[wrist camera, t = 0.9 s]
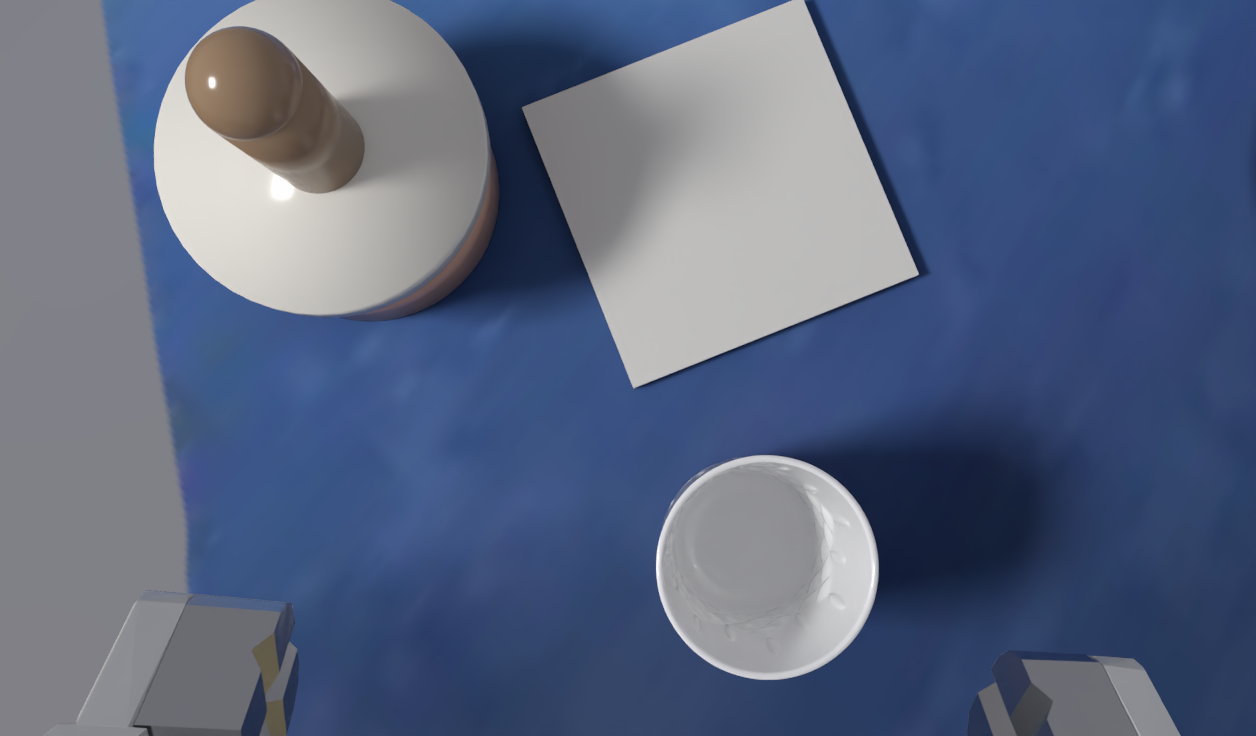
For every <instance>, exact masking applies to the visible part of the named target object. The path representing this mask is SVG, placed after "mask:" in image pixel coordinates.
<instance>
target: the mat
mask: <svg viewBox="0 0 1256 736" xmlns="http://www.w3.org/2000/svg"><path fill="white" fill-rule="evenodd" d="M522 110H523V112H524V115H525V117H526V120H527V122H528V125H529V127H530V130H531V132H532V135H533V137H534V140H535V142H536V145H537V147H538V150H539V152H540V155H541V157H542V160H543V162H544V165H545V167H546V170H547V172H548V175H549V177H550V180H551V182H552V185H553V188H554V190H555V193H556V195H557V198H558V200H559V203H560V205H561V208H562V210H563V213H564V215H565V218H566V220H567V223H568V225H569V228H570V230H571V233H572V235H573V238H574V240H575V243H576V245H577V248H578V250H579V253H580V255H581V258H582V260H583V263H584V265H585V268H586V270H587V273H588V275H589V278H590V280H591V283H592V285H593V288H594V290H595V293H596V295H597V298H598V300H599V303H600V306H601V308H602V311H603V313H604V316H605V318H606V321H607V323H608V326H609V328H610V331H611V333H612V336H613V338H614V341H615V343H616V346H617V348H618V351H619V353H620V356H621V358H622V361H623V363H624V366H625V368H626V371H627V373H628V376H629V378H630V381H631V383H632V386H633V388H637V387H639V386H642V385H644V384H647V383H649V382H652V381H654V380H657V379H659V378H662V377H664V376H667V375H669V374H672V373H674V372H677V371H679V370H682V369H684V368H687V367H689V366H692V365H694V364H697V363H699V362H702V361H704V360H707V359H709V358H712V357H714V356H717V355H719V354H722V353H724V352H727V351H729V350H732V349H734V348H737V347H740V346H742V345H745V344H747V343H750V342H752V341H755V340H757V339H760V338H762V337H765V336H767V335H770V334H772V333H775V332H777V331H780V330H782V329H785V328H787V327H790V326H792V325H795V324H797V323H800V322H802V321H805V320H807V319H810V318H812V317H815V316H817V315H820V314H822V313H825V312H827V311H830V310H832V309H835V308H837V307H840V306H843V305H845V304H848V303H850V302H853V301H855V300H858V299H860V298H863V297H865V296H868V295H870V294H873V293H875V292H878V291H880V290H883V289H885V288H888V287H890V286H893V285H895V284H898V283H900V282H903V281H905V280H908V279H910V278H913V277H915V276H917V275H919V273H918V271H917V268H916V266H915V264H914V261H913V259H912V257H911V254H910V252H909V249H908V247H907V245H906V242H905V240H904V238H903V235H902V233H901V230H900V228H899V226H898V223H897V221H896V219H895V216H894V214H893V211H892V209H891V207H890V204H889V202H888V199H887V197H886V195H885V192H884V190H883V188H882V185H881V183H880V180H879V178H878V176H877V173H876V171H875V169H874V166H873V164H872V161H871V159H870V157H869V154H868V152H867V150H866V147H865V145H864V142H863V140H862V138H861V135H860V133H859V131H858V128H857V126H856V123H855V121H854V119H853V116H852V114H851V111H850V109H849V107H848V104H847V102H846V100H845V97H844V95H843V92H842V90H841V88H840V85H839V83H838V81H837V78H836V76H835V73H834V71H833V69H832V66H831V64H830V62H829V59H828V57H827V54H826V52H825V50H824V47H823V45H822V43H821V40H820V38H819V35H818V33H817V31H816V28H815V26H814V24H813V21H812V19H811V16H810V14H809V12H808V9H807V7H806V4H805V2H804V0H792V1H790V2H787V3H785V4H782V5H780V6H777V7H775V8H772V9H769V10H767V11H764V12H762V13H759V14H757V15H754V16H752V17H749V18H747V19H744V20H742V21H739V22H737V23H734V24H731V25H729V26H726V27H724V28H721V29H719V30H716V31H714V32H711V33H709V34H706V35H704V36H701V37H699V38H696V39H693V40H691V41H688V42H686V43H683V44H681V45H678V46H676V47H673V48H671V49H668V50H666V51H663V52H661V53H658V54H655V55H653V56H650V57H648V58H645V59H643V60H640V61H638V62H635V63H633V64H630V65H628V66H625V67H623V68H620V69H617V70H615V71H612V72H610V73H607V74H605V75H602V76H600V77H597V78H595V79H592V80H590V81H587V82H585V83H582V84H579V85H577V86H574V87H572V88H569V89H567V90H564V91H562V92H559V93H557V94H554V95H552V96H549V97H547V98H544V99H541V100H539V101H536V102H534V103H531V104H529V105H526V106H524V107H522Z"/></svg>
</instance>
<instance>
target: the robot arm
mask: <svg viewBox="0 0 1256 736" xmlns="http://www.w3.org/2000/svg"><path fill="white" fill-rule="evenodd" d="M294 623H295V622H294V615H293V609H292V603H286V602H275V601H265V600H254V599H244V598H233V597H222V596H212V595H201V594H189V593H176V592H162V591H151V590H146V591H145V592H144V593H143V595H142V596H141V597H140V598H139V599H138V600H137V601H136V602H135V603H134V605H133V607H132V609H131V611H130V613H129V615H128V617H127V619H126V621H125V623H124V625H123V627H122V629H121V631H120V633H119V635H118V637H117V639H116V641H115V643H114V645H113V647H112V649H111V651H110V653H109V656H108V657H107V660H106V662H105V664H104V666H103V668H102V669H101V672H100V674H99V676H98V678H97V680H96V682H95V684H94V686H93V688H92V690H91V692H90V694H89V696H88V698H87V700H86V702H85V704H84V706H83V708H82V710H81V712H80V714H79V716H78V718H77V720H76V722H75V724H74V723H59V724H58V725H57V726H55V727H54V728H53V729H51V730H50V731H48V732H47V733H46V734H45V735H43V736H285V735H286V734H287V731H288V727H289V723H290V720H291V716H292V713H293V708H294V702H295V697H296V691H297V685H298V667H299V662H298V651H297V648H295V647H294V646H293V645H292V644H291V643H290V642H289V640H290V637H291V633H292V630H293V627H294ZM991 670H992V673H993V676H994V678H995V681H996V683H994V684H992V685H991V686H989V687H987V688H985V689H984V690H982V691H980V692H979V693H978V694H977V696H976V698H975V700H974V702H973V704H972V706H971V708H970V710H969V718H968V729H967V736H1180V734H1179V732H1178V730H1177V728H1176V726H1175V725H1174V723H1173V721H1172V719H1171V717H1170V715H1169V714H1168V712H1167V710H1166V708H1165V706H1164V704H1163V703H1162V701H1161V699H1160V697H1159V695H1158V693H1157V692H1156V690H1155V688H1154V686H1153V684H1152V682H1151V681H1150V679H1149V677H1148V675H1147V673H1146V671H1145V670H1144V668H1143V667H1142V666H1141V665H1140V664H1139V663H1138V662H1136V661H1135V660H1134V659H1130V658H1117V657H1101V656H1087V655H1085V654H1068V653H1049V652H1031V651H1012V650H1008V651H1007V652H1005V653H1003V654H1001V655H1000V656H999V657H998V659H997V660H996V662H995V664H994V665H993V667H992V669H991Z"/></svg>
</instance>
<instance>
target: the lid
mask: <svg viewBox="0 0 1256 736" xmlns="http://www.w3.org/2000/svg"><path fill="white" fill-rule="evenodd" d="M490 163H491V154H490V138H489V132H488V126H487V121H486V117H485V114H484V111H483V108H482V105H481V102H480V99H479V97H478V95H477V93H476V90H475V88H474V86H473V84H472V82H471V80H470V78H469V76H468V74H467V72H466V70H465V68H464V66H463V65H462V63H461V62H460V60H459V59H458V57H457V56H456V54H455V53H454V51H453V50H452V49H451V47H450V46H449V45H448V44H447V43H446V42H445V40H444V39H443V38H442V37H441V36H440V35H439V34H438V33H437V32H436V31H435V30H434V29H433V28H432V27H430V26H429V25H428V24H427V23H426V22H425V21H424V20H422V19H421V18H419V17H418V16H416V15H415V14H413V13H412V12H411V11H409V10H408V9H406V8H404V7H402V6H400V5H398V4H396V3H394V2H392V1H390V0H256V1H253V2H251V3H249V4H247V5H245V6H243V7H241V8H239V9H238V10H236V11H235V12H233V13H231V14H230V15H228V16H227V17H225V18H224V19H222V20H221V21H220V22H219V23H217V24H216V25H215V26H214V27H213V28H211V29H210V30H209V31H208V32H207V33H206V34H205V35H204V36H203V37H202V38H201V39H200V40H199V41H198V42H197V43H196V44H195V45H194V46H193V48H192V49H191V50H190V52H189V53H188V54H187V56H186V57H185V58H184V60H183V61H182V63H181V64H180V65H179V67H178V69H177V71H176V73H175V74H174V76H173V78H172V80H171V82H170V84H169V86H168V89H167V91H166V94H165V96H164V99H163V101H162V104H161V108H160V112H159V116H158V120H157V124H156V132H155V141H154V169H155V175H156V182H157V188H158V192H159V195H160V199H161V202H162V205H163V209H164V211H165V213H166V216H167V218H168V220H169V222H170V224H171V227H172V229H173V231H174V232H175V234H176V235H177V237H178V239H179V240H180V242H181V243H182V245H183V247H184V248H185V249H186V250H187V251H188V253H189V254H190V255H191V256H192V258H193V259H194V260H195V261H196V262H197V264H199V265H200V266H201V267H202V268H203V269H204V270H205V271H206V272H207V273H208V274H209V275H211V276H212V277H213V278H214V279H215V280H217V281H218V282H220V283H221V284H223V285H224V286H225V287H227V288H228V289H230V290H231V291H233V292H235V293H237V294H239V295H241V296H243V297H245V298H247V299H249V300H251V301H254V302H257V303H259V304H262V305H265V306H268V307H271V308H274V309H277V310H280V311H283V312H287V313H292V314H297V315H301V316H308V317H321V318H334V317H349V316H354V315H359V314H365V313H369V312H372V311H375V310H378V309H382V308H385V307H388V306H390V305H392V304H394V303H396V302H398V301H400V300H403V299H405V298H407V297H408V296H410V295H412V294H413V293H415V292H416V291H418V290H419V289H421V288H422V287H424V286H425V285H427V284H428V283H429V282H430V281H431V280H433V279H434V278H435V277H436V276H437V275H438V274H440V273H441V272H442V271H443V270H444V269H445V267H446V266H447V265H448V264H449V263H450V262H451V261H452V260H453V259H454V258H455V256H456V255H457V254H458V252H459V251H460V249H461V248H462V247H463V245H464V244H465V242H466V241H467V239H468V237H469V236H470V234H471V232H472V230H473V228H474V226H475V224H476V222H477V220H478V217H479V215H480V212H481V209H482V206H483V204H484V201H485V196H486V192H487V187H488V183H489V175H490Z"/></svg>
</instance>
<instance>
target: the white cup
mask: <svg viewBox="0 0 1256 736" xmlns="http://www.w3.org/2000/svg"><path fill="white" fill-rule="evenodd" d="M656 576H657V584H658V590H659V594H660V598H661V601H662V604H663V607H664V609H665V612H666V614H667V616H668V618H669V620H670V622H671V624H672V625H673V627H674V628H675V630H676V631H677V633H678V634H679V635H680V637H681V638H682V639H683V640H684V642H685V643H686V644H687V645H688V646H689V647H690V648H691V649H692V650H693V651H694V652H696V653H697V654H698V655H699V656H700V657H702V658H703V659H705V660H706V661H707V662H709V663H711V664H712V665H714V666H716V667H718V668H720V669H722V670H724V671H726V672H729V673H732V674H735V675H738V676H742V677H746V678H752V679H760V680H777V679H785V678H791V677H795V676H799V675H802V674H805V673H808V672H811V671H813V670H815V669H817V668H819V667H821V666H823V665H825V664H826V663H828V662H829V661H831V660H832V659H834V658H835V657H836V656H838V655H839V654H840V653H841V652H842V651H843V650H844V649H845V648H846V647H847V646H848V645H849V644H850V643H851V642H852V641H853V640H854V638H855V637H856V636H857V635H858V633H859V632H860V630H861V629H862V627H863V625H864V624H865V622H866V620H867V618H868V616H869V614H870V611H871V609H872V606H873V603H874V600H875V596H876V591H877V586H878V577H879V560H878V551H877V546H876V542H875V538H874V534H873V531H872V529H871V526H870V524H869V521H868V519H867V517H866V515H865V513H864V512H863V510H862V508H861V507H860V505H859V504H858V502H857V501H856V500H855V498H854V497H853V496H852V495H851V494H850V492H849V491H848V490H847V489H846V488H845V487H844V486H843V485H842V484H840V483H839V482H838V481H837V480H836V479H834V478H833V477H832V476H830V475H829V474H827V473H826V472H824V471H823V470H821V469H819V468H817V467H815V466H813V465H811V464H808V463H806V462H803V461H800V460H797V459H793V458H789V457H783V456H775V455H757V456H749V457H741V458H734V459H729V460H725V461H722V462H719V463H717V464H714V465H712V466H710V467H708V468H706V469H704V470H702V471H701V472H699V473H698V474H696V475H695V476H694V477H692V478H691V479H690V480H689V481H688V482H687V483H686V484H685V485H684V486H683V487H682V488H681V490H680V491H679V492H678V494H677V495H676V496H675V498H674V500H673V501H672V502H671V505H670V507H669V509H668V511H667V513H666V516H665V519H664V522H663V525H662V529H661V533H660V538H659V543H658V548H657V556H656Z"/></svg>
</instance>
